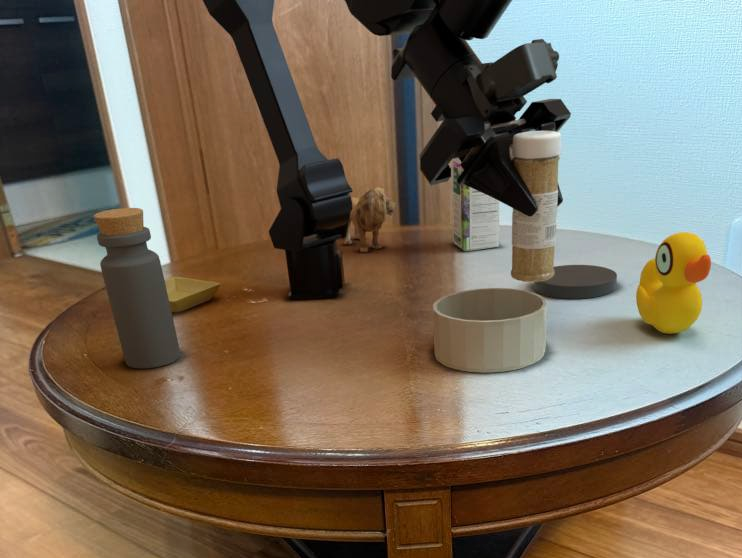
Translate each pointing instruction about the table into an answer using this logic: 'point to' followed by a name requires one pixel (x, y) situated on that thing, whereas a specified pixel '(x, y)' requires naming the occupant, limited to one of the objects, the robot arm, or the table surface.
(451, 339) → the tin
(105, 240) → the bottle
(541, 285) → the stand
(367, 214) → the lion figurine
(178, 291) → the yellow shallow tray
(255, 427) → the table surface
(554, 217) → the sprinkles bottle
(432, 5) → the robot arm
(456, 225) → the syrup box
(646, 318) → the duckling
